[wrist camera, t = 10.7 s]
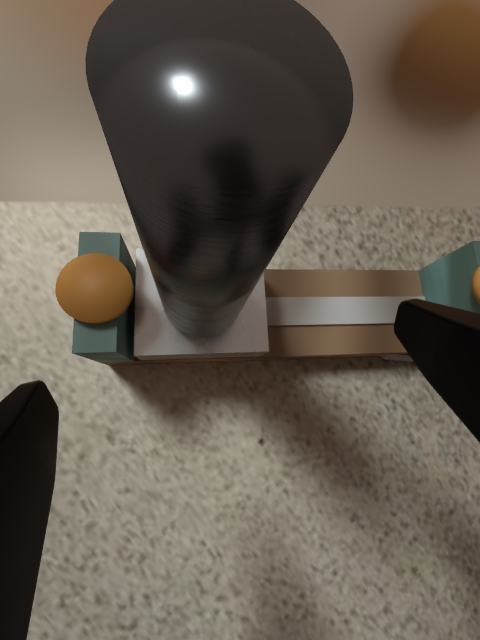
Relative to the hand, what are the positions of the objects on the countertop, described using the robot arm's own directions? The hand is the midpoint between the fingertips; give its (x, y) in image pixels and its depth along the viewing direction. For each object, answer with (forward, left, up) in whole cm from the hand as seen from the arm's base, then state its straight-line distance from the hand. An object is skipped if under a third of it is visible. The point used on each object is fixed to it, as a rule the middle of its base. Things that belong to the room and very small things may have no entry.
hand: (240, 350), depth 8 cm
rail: (-3, -4, -11) cm, 12 cm away
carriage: (+2, -3, -9) cm, 9 cm away
